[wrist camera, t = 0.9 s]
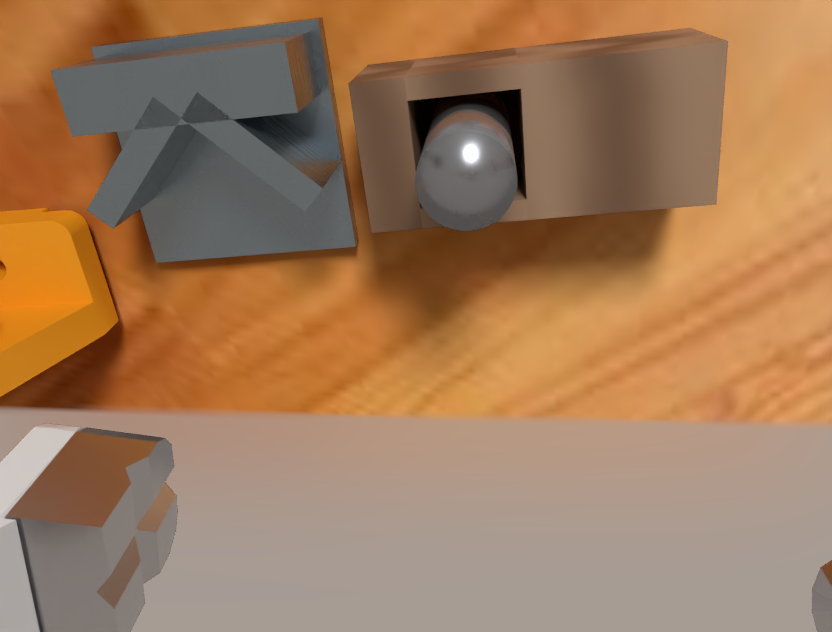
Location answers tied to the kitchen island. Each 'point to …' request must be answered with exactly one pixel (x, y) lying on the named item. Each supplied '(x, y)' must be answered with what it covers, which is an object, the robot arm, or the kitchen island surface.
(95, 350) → the kitchen island surface
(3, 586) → the robot arm
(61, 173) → the kitchen island surface
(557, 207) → the walnut beam
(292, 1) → the kitchen island surface
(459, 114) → the steel axle
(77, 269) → the bracket
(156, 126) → the V-block
